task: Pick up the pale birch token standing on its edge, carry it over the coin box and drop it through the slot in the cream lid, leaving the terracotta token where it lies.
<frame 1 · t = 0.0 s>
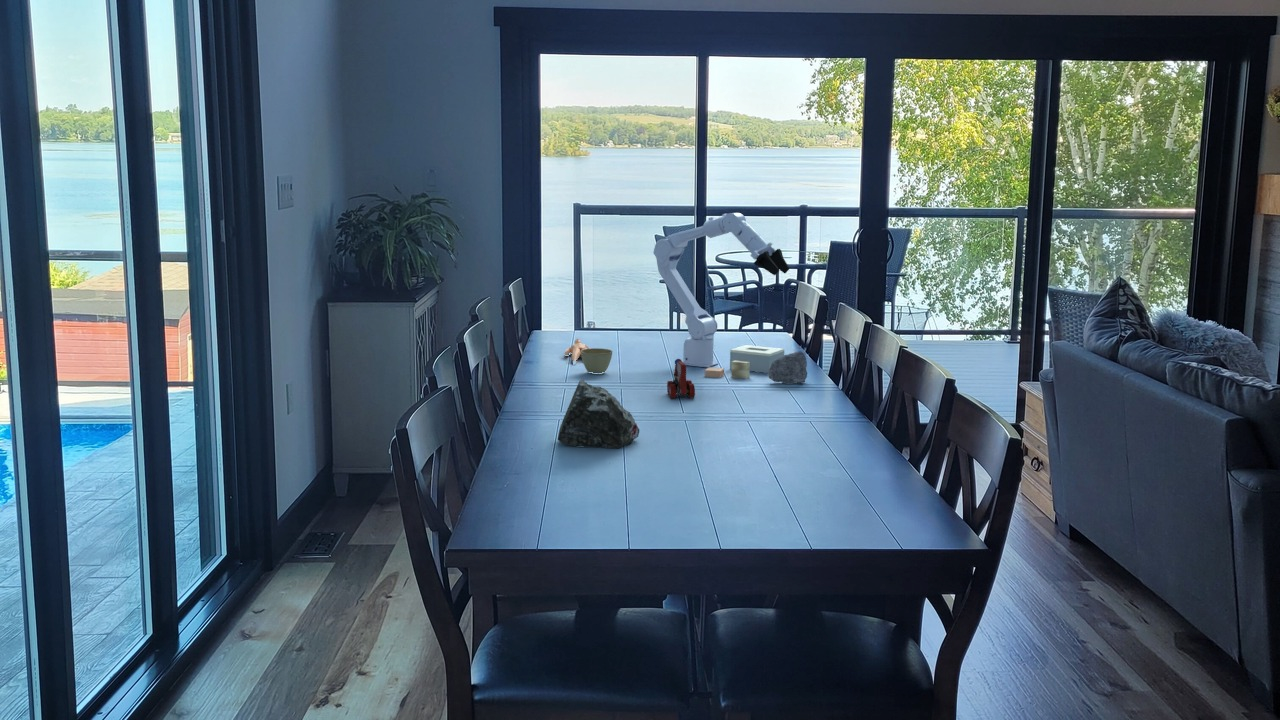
hand: (782, 272, 337), 32 cm above the table, tool tilted 50°, fingers open, 7 cm apart
flower pot: (596, 373, 342), on the table
stone: (592, 444, 256), on the table
terracotta token: (714, 376, 339), on the table
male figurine: (580, 359, 369), on the table
coin box: (756, 368, 351), on the table
birch token: (740, 377, 337), on the table
rock: (787, 383, 329), on the table
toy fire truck: (680, 396, 309), on the table
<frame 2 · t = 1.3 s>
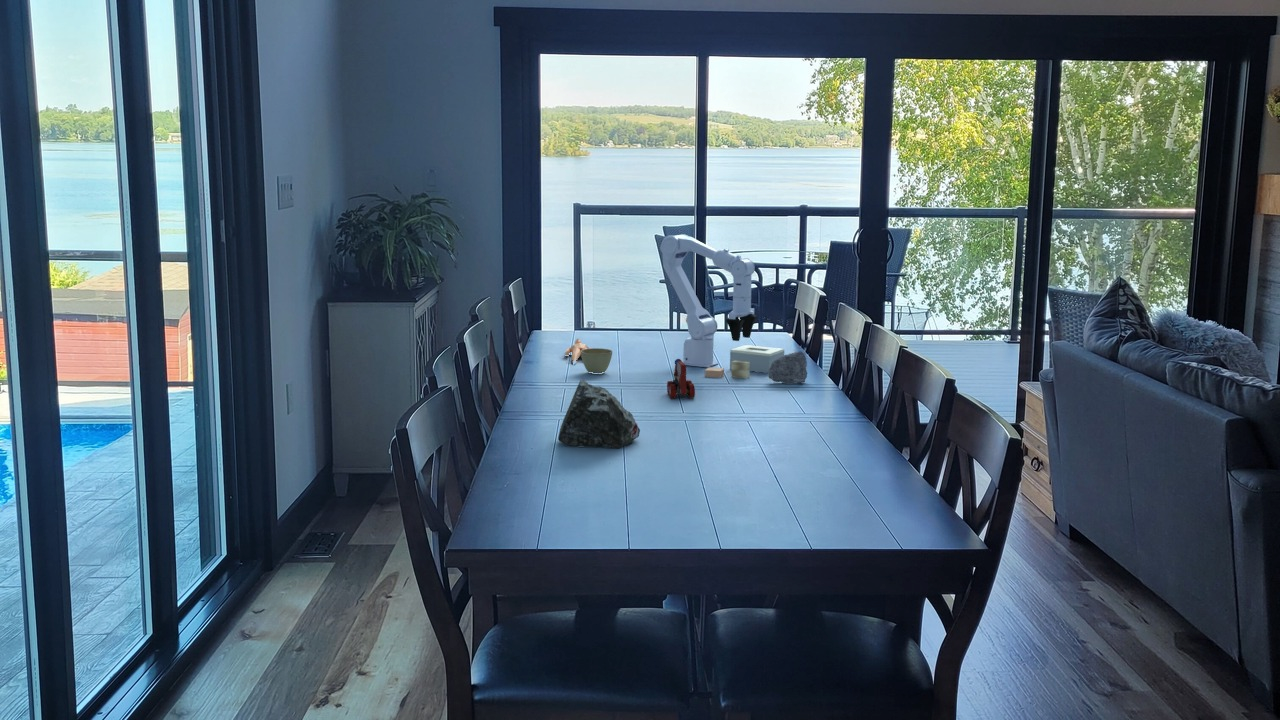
hand: (741, 339, 348), 10 cm above the table, tool pointing down, fingers open, 7 cm apart
nothing on the table moved.
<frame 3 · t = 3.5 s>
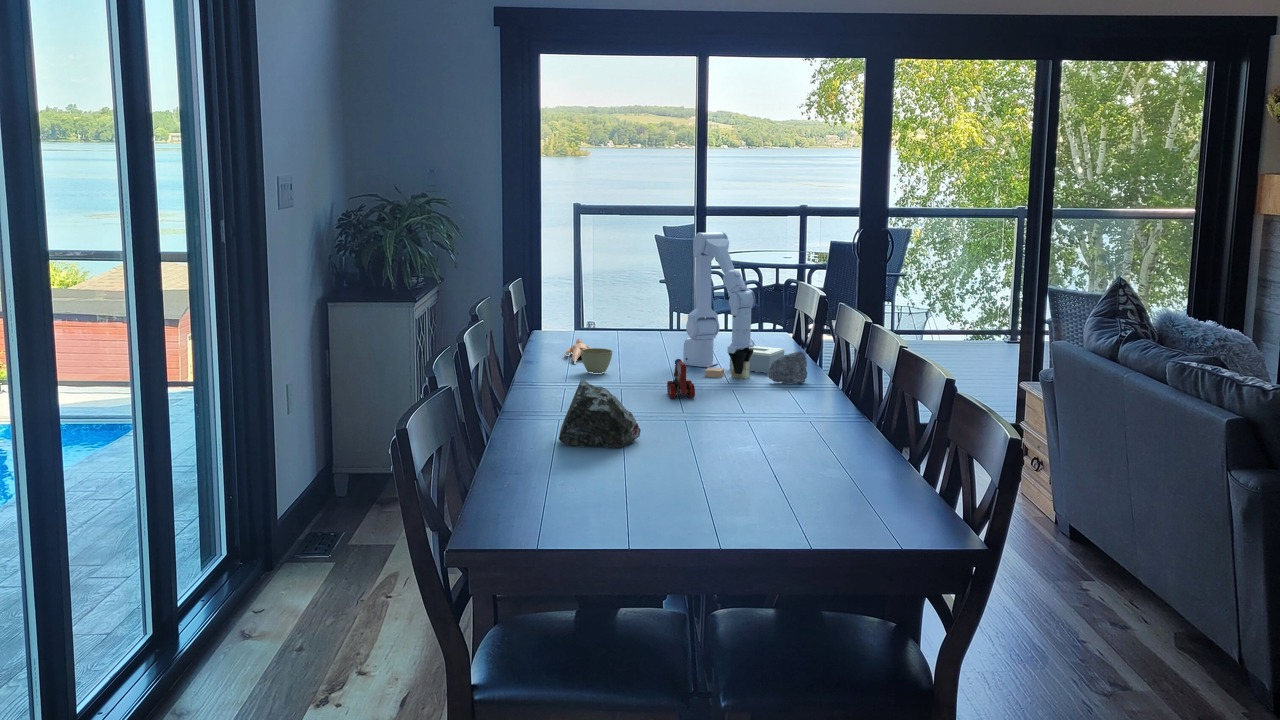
hand: (740, 372, 337), 1 cm above the table, tool pointing down, fingers closed on birch token, 2 cm apart
birch token: (740, 377, 337), on the table, touching gripper
everything else where it was.
when the fingers open (8 cm above the table, at t = 5.8 s): birch token drops 5 cm, resting on coin box.
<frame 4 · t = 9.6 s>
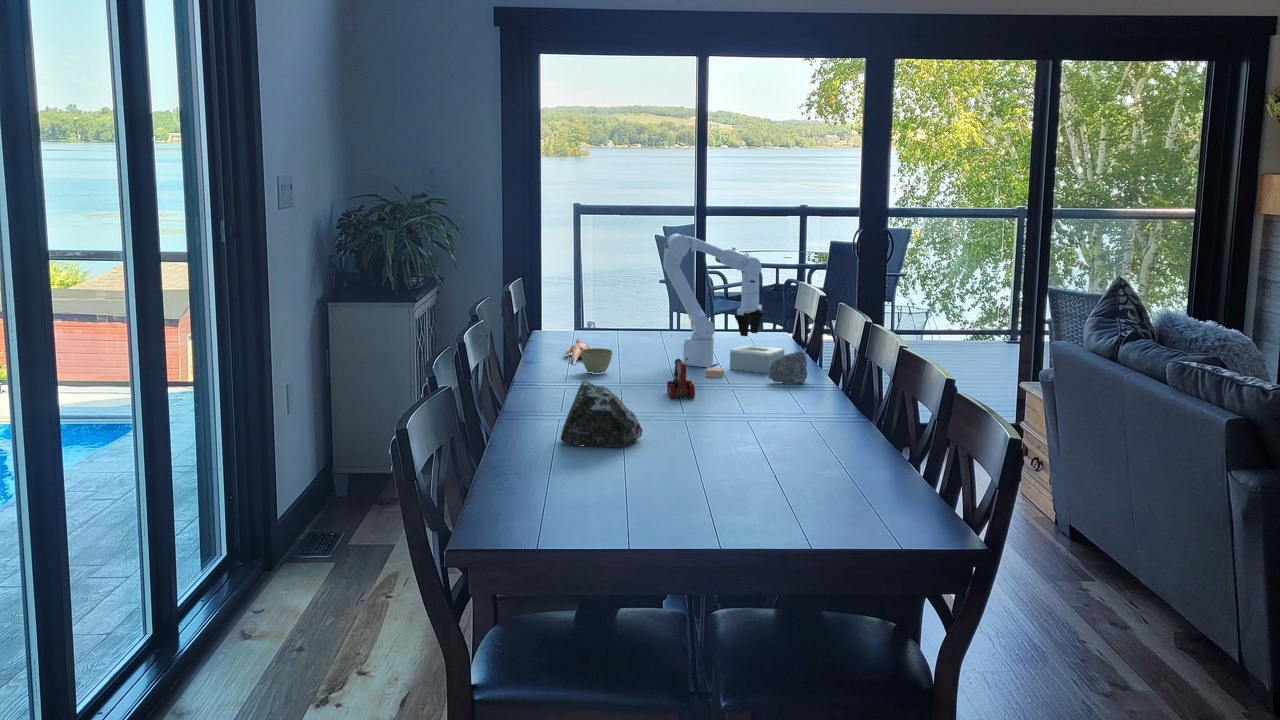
hand: (749, 334, 358), 10 cm above the table, tool pointing down, fingers open, 7 cm apart
birch token: (757, 367, 351), resting on coin box
everything else where it was.
at the end: birch token inside the target area on the coin box (0.1 cm from its centre), point 0.3 cm above the coin box's base; the gripper is holding nothing; terracotta token moved 0.4 cm from its start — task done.
